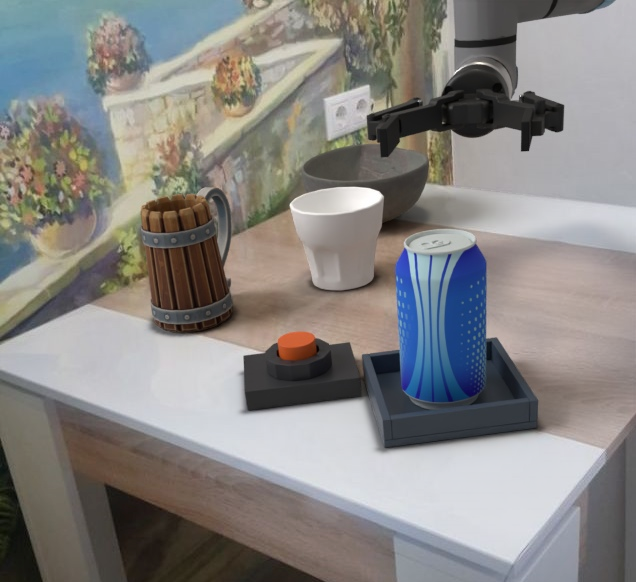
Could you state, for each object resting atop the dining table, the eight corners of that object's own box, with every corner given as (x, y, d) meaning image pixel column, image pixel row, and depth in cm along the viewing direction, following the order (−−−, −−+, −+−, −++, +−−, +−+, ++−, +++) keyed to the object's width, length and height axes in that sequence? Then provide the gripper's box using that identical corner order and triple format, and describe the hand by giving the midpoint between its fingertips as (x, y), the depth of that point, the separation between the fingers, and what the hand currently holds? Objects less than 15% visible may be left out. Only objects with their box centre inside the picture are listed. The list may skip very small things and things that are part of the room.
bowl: (286, 239, 139) (278, 175, 134) (334, 201, 155) (329, 142, 149) (408, 244, 131) (405, 176, 126) (445, 203, 147) (444, 142, 142)
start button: (315, 343, 95) (313, 329, 94) (318, 359, 92) (316, 344, 91) (278, 348, 95) (276, 333, 94) (280, 364, 92) (278, 349, 91)
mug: (203, 338, 108) (182, 218, 101) (137, 328, 113) (112, 213, 106) (269, 292, 120) (255, 181, 112) (207, 285, 125) (188, 178, 117)
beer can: (413, 373, 93) (406, 225, 85) (492, 378, 91) (494, 226, 82) (392, 411, 87) (383, 254, 78) (477, 418, 84) (477, 256, 76)
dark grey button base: (351, 359, 99) (348, 327, 97) (361, 396, 92) (359, 361, 90) (246, 372, 99) (240, 340, 97) (247, 410, 91) (242, 376, 89)
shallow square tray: (496, 362, 95) (497, 336, 94) (537, 428, 83) (538, 400, 81) (363, 379, 95) (361, 354, 94) (384, 447, 83) (382, 420, 81)
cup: (367, 257, 128) (362, 181, 122) (403, 284, 118) (399, 201, 112) (286, 275, 125) (277, 197, 119) (316, 303, 115) (307, 220, 109)
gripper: (586, 126, 101) (585, 174, 83) (373, 136, 107) (331, 183, 90) (590, 55, 97) (590, 90, 80) (369, 70, 104) (324, 106, 86)
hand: (452, 140), depth 85 cm, fingers open, 13 cm apart
